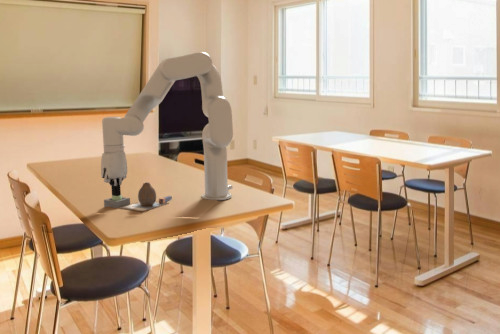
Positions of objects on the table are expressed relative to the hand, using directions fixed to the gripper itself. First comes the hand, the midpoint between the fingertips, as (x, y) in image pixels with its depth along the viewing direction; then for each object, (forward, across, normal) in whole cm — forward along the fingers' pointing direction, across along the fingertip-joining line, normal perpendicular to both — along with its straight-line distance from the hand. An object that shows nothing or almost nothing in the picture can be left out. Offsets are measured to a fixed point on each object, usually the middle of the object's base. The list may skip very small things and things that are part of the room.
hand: (116, 195), depth 196 cm
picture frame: (+4, -4, +11) cm, 12 cm away
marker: (+4, -14, +13) cm, 19 cm away
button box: (+4, 0, 0) cm, 5 cm away
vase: (+4, -4, +12) cm, 13 cm away
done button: (+4, 0, 0) cm, 4 cm away
